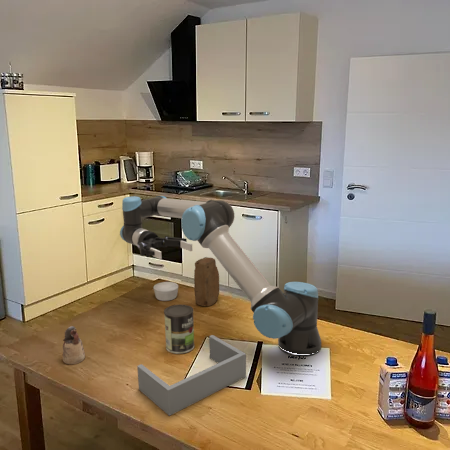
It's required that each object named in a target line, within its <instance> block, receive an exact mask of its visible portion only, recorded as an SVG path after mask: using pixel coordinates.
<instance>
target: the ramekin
mask: <svg viewBox="0 0 450 450" xmlns="http://www.w3.org/2000/svg"><path fill="white" fill-rule="evenodd" d="M153 291H154V295H155V298H156V299H157V300H159V301H161V302H167V301H168V302H169V301H172V300H175V299H176V298H177V297H178V291H179V284H177V283H176V282H174V281H173V282H172V281H163V282H158V283H156V284H154V286H153Z"/></svg>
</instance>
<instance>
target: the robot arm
mask: <svg viewBox="0 0 450 450" xmlns="http://www.w3.org/2000/svg"><path fill="white" fill-rule="evenodd" d="M121 208H122V209H121V210H122V217H123V225H122V227H121V228H120V231H119V236H120V238H121V239H122V240H123V241H124V242H126V243H127V244H132V245H133V246H136V247H137V249H138V250H139V253H140V256H143V257H144V256H145V255H146V258H149V257H150V256H152V257H154V258H156V259H158V260H162V259H163V258H162V251H160V250H159V249H160V248H167V247H178V248H179V247H180V249H184V250H186V251H189V252H193V243H191V242H192V241H193V242H196V241H197V242H198V244H200V246H201V247H202V248H204V249H209V251H210V252H211V253H212V254H213V255H214V256H215V259H217V261H219V263H220V264H221V266H222V267H223V268H224V269H225V271H226V272H227V273H228V275H229V276H230V278H231V279H232V280H233V281H234V283H236V285H237V286H238V288H239V289H240V290H241V291H242V292H243V293H244V295H245V296H246V297H247V299H248V300H249V301H250V310H251V311H252V312H253V314H252V319H253V324H254V327H255V328H256V330H257V331H258V332H259V333H260V334H261V335H263V336H264V337H266V338H269V339H275V340H277V345H279V346H280V347H281V348H282V349H284V350H286V351H289V352H292V353H297V354H312V353H316V352H317V351H319V350H320V351H321V349H322V339H321V336H320V332H319V328H318V311H319V310H318V309H319V306H318V305H319V289H318V288H317V287H316V286H315V285H314V284H311V283H308V282H302V281H289V282H286V283H285V284H284V287H283V291H282V290H281V289H280V287H279V286H274V285H272V284H270V282H269V281H268V280H267V279H266V277H265V276H264V275H263V274H262V273H261V271H259V269H258V268H257V267H256V265H255V264H254V263H253V262H252V260H251V259H250V258H249V256H248V255H247V254H246V253H245V252H244V250H243V249H242V248H241V247H240V246H239V244H238V243H237V242H236V241H235V239H234V238H233V237H232V236H231V235H230V233H229V230H230V228H231V227H232V225H233V223H234V221H235V211H234V208H233V207H232V205H231V204H230V203H229V202H227V201H225V200H221V199H209V200H207V201H199V200H197V201H196V200H188V199H176V198H167V197H166V196H164V195H161V196H160V195H159V196H155V197H150V198H146V199H141V197H140V196H134V195H133V196H132V195H131V196H126V197H124V198H123V199H122V205H121ZM153 216H161V217H169V218H176V219H177V218H178V219H181V221H180V222H181V230H182V233H183V235H184V236H185V238H184V237H174V236H168V235H165V236H164V237H159V235H158V234H157V233H156V232H155V231H154V232H153V231H151V230H147V229H146V228H143V219H146V218H150V217H153ZM187 240H189V241H191V242H187ZM156 248H157V249H156ZM279 346H278V347H279ZM320 351H319V352H320ZM317 353H318V352H317ZM317 353H316V354H317Z"/></svg>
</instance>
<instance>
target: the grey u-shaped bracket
mask: <svg viewBox="0 0 450 450" xmlns="http://www.w3.org/2000/svg"><path fill="white" fill-rule="evenodd" d="M208 343H209V344H208V345H209V346H208V347H209V359H211V358H212V359H213V361H214V360H215V361H214V362H216V363H215V364H214V365H211V366H210V367H207V368H205V369H203V370H201V371H199V372H196V373H193V374H192V375H190V376H188V377H186V378H184V379H181V380H180V381H176V382H175V383H173V384H170V385H169V384H168V383H167V382H166V381H164V380H163V379H162V378H160V377H159V376H157V375H156V374H155V373H154V372H153V371H151V370H150V369H149V368H148V367H146V366H145V365H144V364H142V363H141V364H138V365H136V366H137V380H138V381H137V383H138V390H139V391H140V392H141V393H142V394H143V395H144V396H146V397H147V398H148V399H149V400H150V401H151V402H153V403H154V404H155V405H156V406H157V407H158V408H159V409H161V410H162V411H163V412H164V413H165V414H166V415H168V416H169V417H170V416H171V415H174V414H176V413H177V412H180V411H182V410H184V409H186V408H188V407H189V406H191V405H194V404H195V403H197V402H199V401H201V400H203V399H205V398H207V397H209V396H210V395H213V394H215V393H217V392H219V391H221V390H222V389H225V388H226V387H228V386H230V385H233V384H235V383H236V382H238V381H241V380H242V379H245V377H247V353H246V352H244V351H242V350H241V349H239V348H237V347H235V346H233V345H231V344H229V343H227V342H226V341H224V340H222V339H221V338H219V337H218V336H215V335H213V334H211V335H209V339H208ZM212 359H211V360H212ZM217 362H218V363H217Z"/></svg>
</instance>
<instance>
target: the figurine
mask: <svg viewBox="0 0 450 450" xmlns="http://www.w3.org/2000/svg"><path fill="white" fill-rule="evenodd" d="M77 331H78V330H77V328H76V327H75V326H73V325H71V326H69V327H68V328H66V330H65V331H64V338H63V339H62V340H63V343H62V344H63V345H62V361H63V363H64V364H66V365H77V364H79V363H81V362H83V361H84V360H85V358H86V354H85V349H84V345H83V341H82V339H81V338H80V337H79V333H77Z"/></svg>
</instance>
